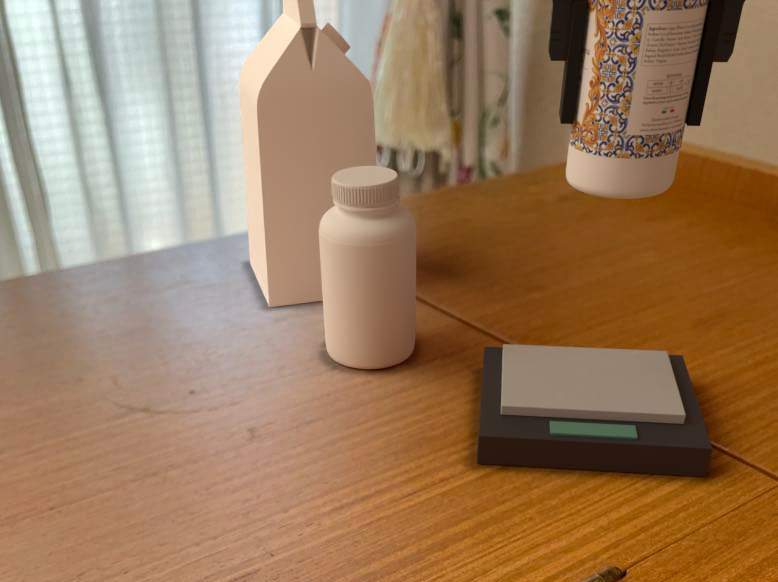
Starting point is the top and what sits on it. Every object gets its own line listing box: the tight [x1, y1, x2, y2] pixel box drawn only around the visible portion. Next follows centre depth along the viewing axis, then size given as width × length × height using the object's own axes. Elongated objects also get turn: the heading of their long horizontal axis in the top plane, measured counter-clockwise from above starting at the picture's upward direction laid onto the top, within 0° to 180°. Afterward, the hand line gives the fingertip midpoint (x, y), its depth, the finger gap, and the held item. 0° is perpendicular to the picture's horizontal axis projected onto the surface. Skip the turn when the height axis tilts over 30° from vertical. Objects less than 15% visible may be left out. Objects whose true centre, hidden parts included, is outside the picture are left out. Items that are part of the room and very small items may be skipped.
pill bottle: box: [319, 165, 417, 370], centre depth 72 cm, size 8×8×15 cm
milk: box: [238, 0, 378, 308], centre depth 82 cm, size 12×12×26 cm
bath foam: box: [565, 0, 709, 200], centre depth 51 cm, size 7×7×20 cm
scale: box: [476, 343, 713, 478], centre depth 66 cm, size 16×14×3 cm
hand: (627, 118), depth 55 cm, fingers closed on bath foam, 7 cm apart
